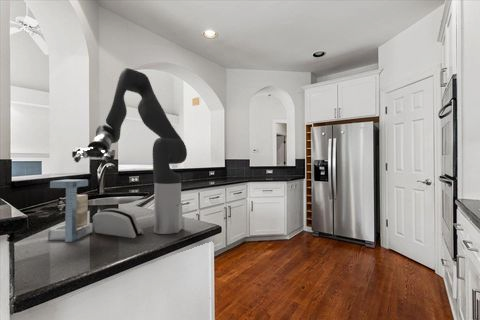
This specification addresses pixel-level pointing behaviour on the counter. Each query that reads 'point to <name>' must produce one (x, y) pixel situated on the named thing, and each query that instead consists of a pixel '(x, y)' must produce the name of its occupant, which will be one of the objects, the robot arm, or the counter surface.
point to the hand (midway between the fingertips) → (89, 161)
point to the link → (81, 211)
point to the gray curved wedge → (116, 223)
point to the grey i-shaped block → (69, 213)
